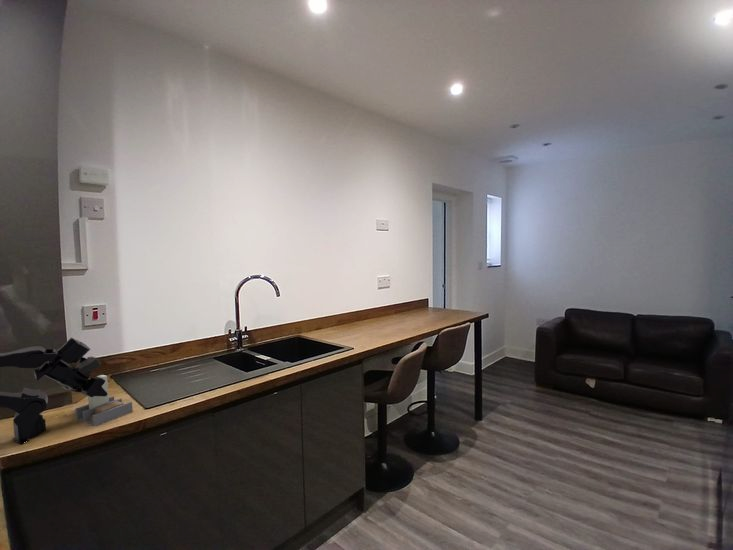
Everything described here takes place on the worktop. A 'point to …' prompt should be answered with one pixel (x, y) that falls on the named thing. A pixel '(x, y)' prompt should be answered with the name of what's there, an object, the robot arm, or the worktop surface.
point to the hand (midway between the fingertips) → (102, 393)
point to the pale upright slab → (99, 400)
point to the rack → (105, 416)
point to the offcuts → (106, 408)
